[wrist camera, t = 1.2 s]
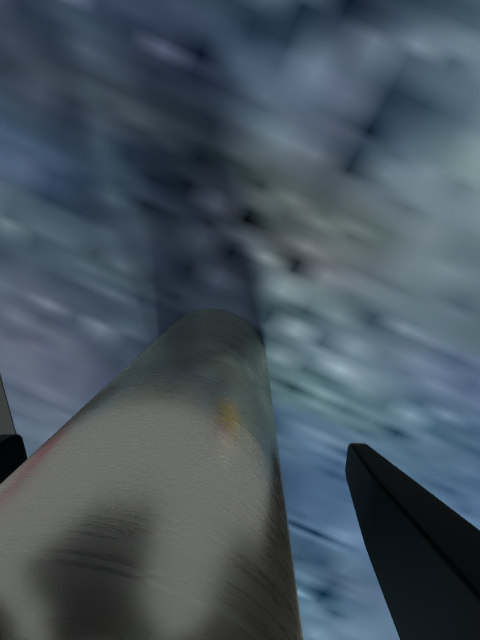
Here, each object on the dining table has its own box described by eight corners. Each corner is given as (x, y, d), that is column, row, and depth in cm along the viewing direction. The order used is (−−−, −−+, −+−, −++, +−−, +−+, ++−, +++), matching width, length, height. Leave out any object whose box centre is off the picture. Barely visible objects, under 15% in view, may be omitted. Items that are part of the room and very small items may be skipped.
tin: (265, 409, 13) (302, 854, 3) (164, 406, 13) (-67, 816, 4) (267, 309, 12) (337, 579, 2) (154, 308, 12) (-249, 550, 2)
